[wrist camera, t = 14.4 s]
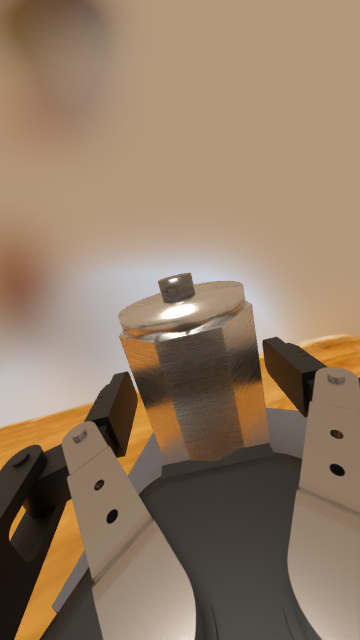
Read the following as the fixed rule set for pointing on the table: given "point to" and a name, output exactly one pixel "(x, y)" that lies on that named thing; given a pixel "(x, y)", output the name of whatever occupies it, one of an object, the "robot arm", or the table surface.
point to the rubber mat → (284, 438)
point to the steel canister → (197, 368)
